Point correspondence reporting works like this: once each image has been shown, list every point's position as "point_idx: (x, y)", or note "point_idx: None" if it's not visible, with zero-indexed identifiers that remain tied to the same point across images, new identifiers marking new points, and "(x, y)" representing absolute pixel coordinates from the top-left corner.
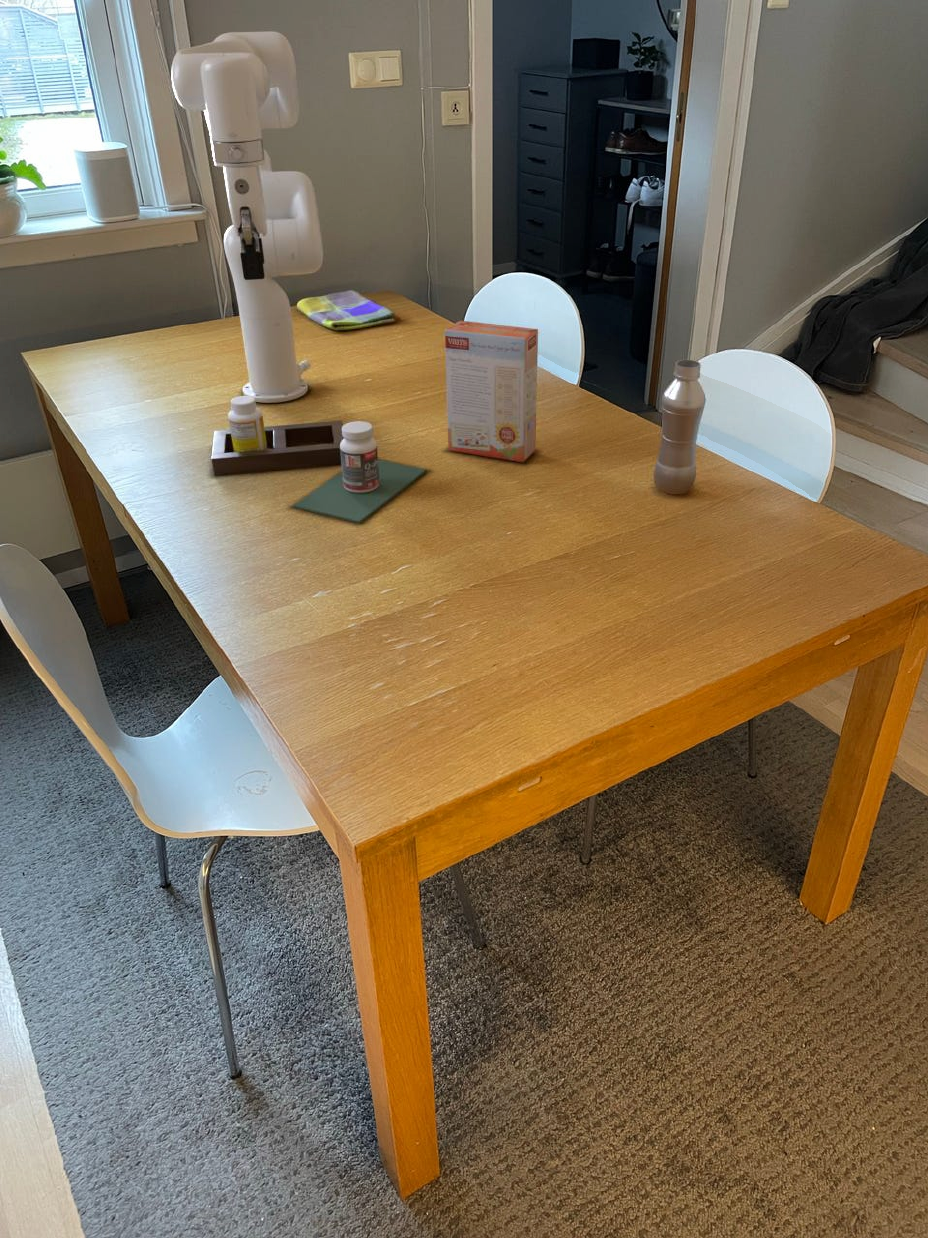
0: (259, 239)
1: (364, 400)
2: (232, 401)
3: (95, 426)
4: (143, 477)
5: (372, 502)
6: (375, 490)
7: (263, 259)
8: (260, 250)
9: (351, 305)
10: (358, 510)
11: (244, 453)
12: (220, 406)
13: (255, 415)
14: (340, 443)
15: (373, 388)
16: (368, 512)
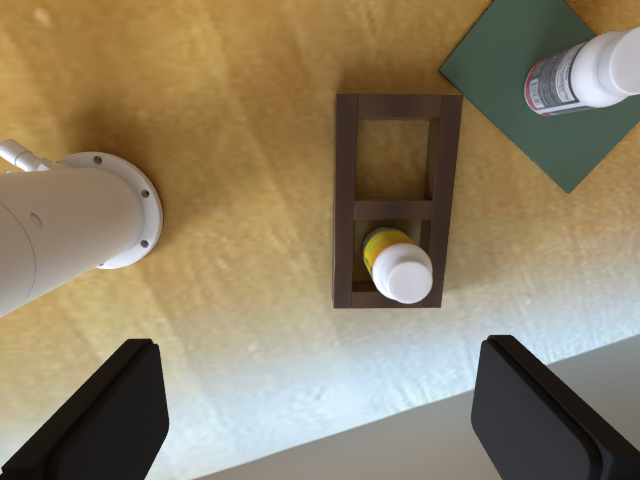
0: (39, 472)
1: (163, 40)
2: (412, 300)
3: (223, 450)
4: (408, 378)
5: None
6: None
7: (141, 351)
8: (118, 403)
9: None
10: (625, 100)
11: (436, 263)
12: (165, 299)
13: (425, 255)
14: (599, 104)
15: (94, 11)
16: None
